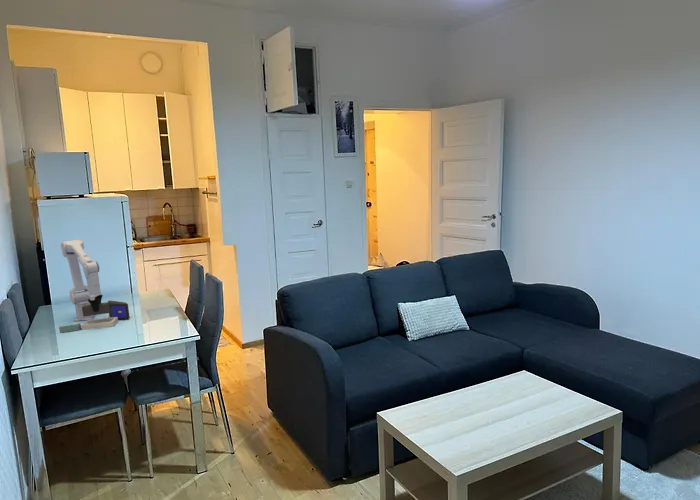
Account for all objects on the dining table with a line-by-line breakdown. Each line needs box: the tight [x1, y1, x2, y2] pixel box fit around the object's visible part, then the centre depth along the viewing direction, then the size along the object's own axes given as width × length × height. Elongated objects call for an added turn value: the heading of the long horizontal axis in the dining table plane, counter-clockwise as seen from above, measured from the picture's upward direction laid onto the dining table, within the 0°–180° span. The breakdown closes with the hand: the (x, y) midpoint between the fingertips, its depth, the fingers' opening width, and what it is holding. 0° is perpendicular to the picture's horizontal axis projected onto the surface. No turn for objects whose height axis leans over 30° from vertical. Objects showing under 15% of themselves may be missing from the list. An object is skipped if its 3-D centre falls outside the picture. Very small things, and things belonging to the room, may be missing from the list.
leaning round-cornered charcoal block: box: [107, 300, 131, 321], centre depth 264 cm, size 16×5×9 cm, turn 60°
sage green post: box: [58, 323, 82, 334], centre depth 246 cm, size 10×1×3 cm, turn 111°
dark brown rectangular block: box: [82, 301, 110, 317], centre depth 252 cm, size 4×12×5 cm, turn 107°
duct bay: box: [81, 317, 119, 331], centre depth 253 cm, size 9×15×2 cm, turn 101°
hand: (97, 310), depth 252 cm, fingers closed on dark brown rectangular block, 4 cm apart
